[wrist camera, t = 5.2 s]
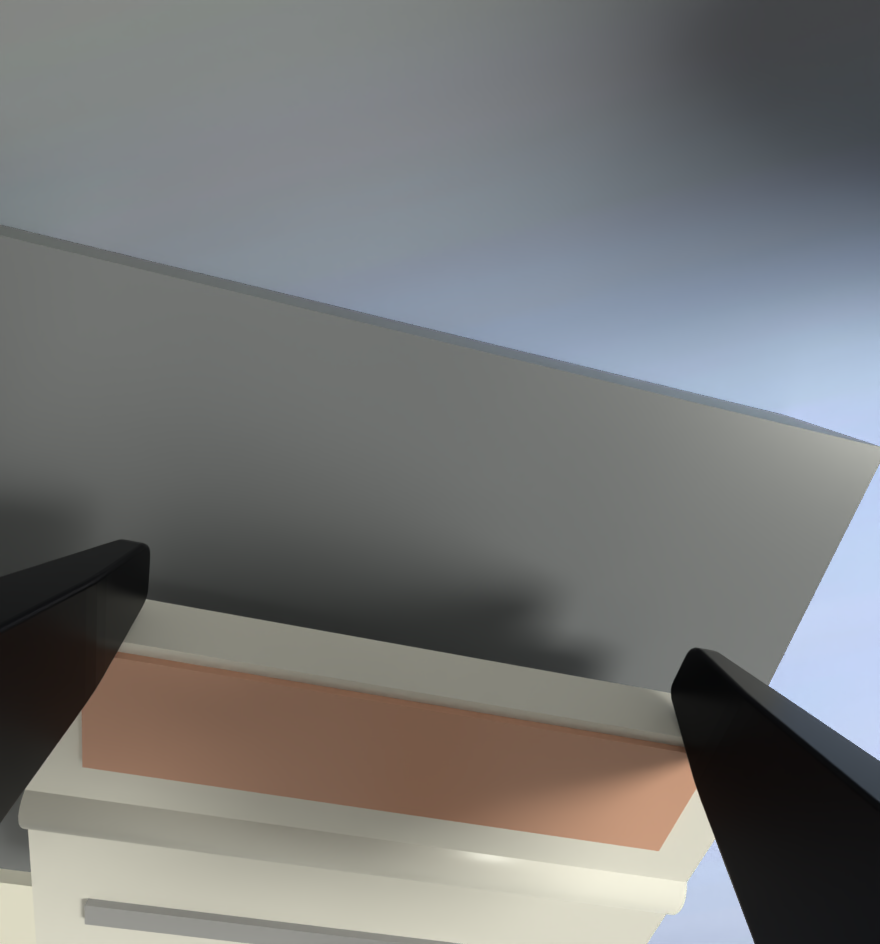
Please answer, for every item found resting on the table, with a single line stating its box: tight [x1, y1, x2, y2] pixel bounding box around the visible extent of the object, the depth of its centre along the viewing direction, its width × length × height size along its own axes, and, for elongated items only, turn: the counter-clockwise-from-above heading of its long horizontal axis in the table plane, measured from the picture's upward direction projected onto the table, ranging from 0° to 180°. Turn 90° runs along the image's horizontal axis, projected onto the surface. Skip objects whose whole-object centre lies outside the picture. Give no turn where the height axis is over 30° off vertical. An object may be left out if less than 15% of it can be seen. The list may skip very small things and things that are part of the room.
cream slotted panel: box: [18, 599, 715, 944], centre depth 10 cm, size 8×12×1 cm, turn 77°
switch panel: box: [0, 225, 880, 944], centre depth 13 cm, size 18×30×4 cm, turn 77°
